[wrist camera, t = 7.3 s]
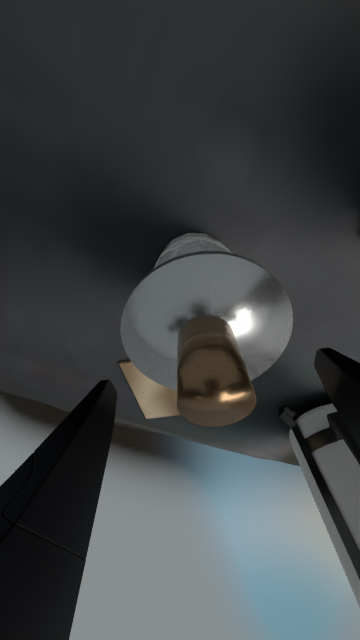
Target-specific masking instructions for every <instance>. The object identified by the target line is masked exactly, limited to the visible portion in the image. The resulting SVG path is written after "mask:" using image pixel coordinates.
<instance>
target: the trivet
mask: <svg viewBox="0 0 360 640" xmlns="http://www.w3.org/2000/svg"><path fill="white" fill-rule="evenodd" d="M119 365H120V367H121V369H122V371H123V373H124V375H125V377H126V379H127V381H128V383H129V385H130V387H131V389H132V391H133V393H134V395H135V397H136V399H137V401H138V403H139V405H140V407H141V409H142V411H143V413H144V415H145V417H146V419H150V418H158V417H167V416H175V415H180V413H179V411H178V409H177V390H174V389H171V388H168V387H165V386H162V385H160V384H158V383H156V382H154V381H153V380H151V379H149V378H148V377H146V376H145V375H144V374H143V373H141V372H140V371H139V370H138V369H137V368H136V367H135V365H134V364H133V363H132V362H131V360H127V361H121V362H120V363H119Z"/></svg>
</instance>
